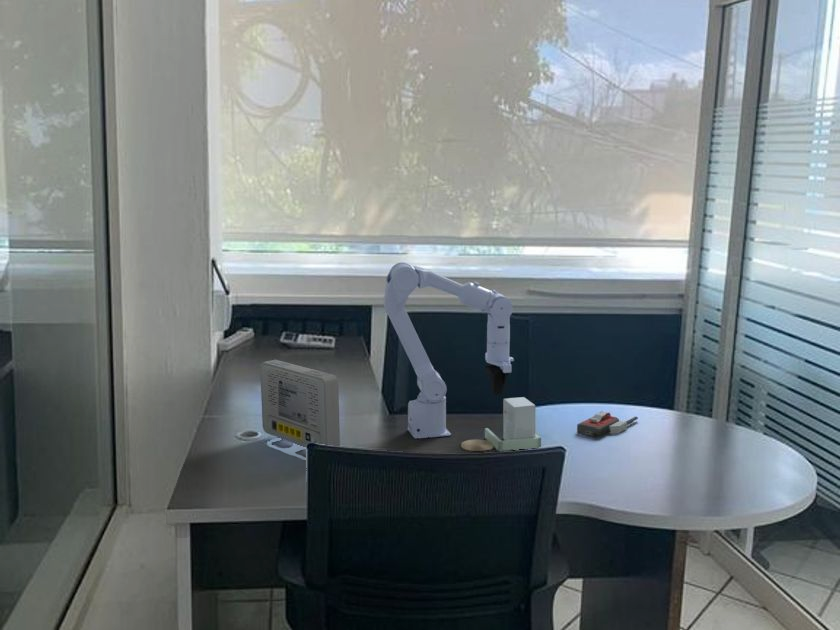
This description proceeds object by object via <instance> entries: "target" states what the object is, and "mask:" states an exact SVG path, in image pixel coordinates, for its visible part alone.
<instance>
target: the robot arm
mask: <svg viewBox="0 0 840 630" xmlns="http://www.w3.org/2000/svg"><path fill="white" fill-rule="evenodd" d="M385 281H386V282H385V289H384V296H383V308H384V310H385V312H386V313H387V316H388V318H389V320H390V322H391V324H392V326H393V328H394V330H395V332H396V335H397V337H398V340H399V341H400V343H401V345H402V347H403V350H404V351H405V353H406V355H407V358H408V359H409V361H410V363H411V366H412V368H413V371H414V372H415V374H416V377H417V378H416V385H417V387H418V388H419V390H420V391H419V394H418V395H417V398H416V399H414V400H409V402H408V404H407V431H408V432H409V433H410V435H411V436H412V437H413V438H414V439H417V438H418V439H427V438H428V437H429V438H438V437H450V436H452V433H451V432H450V431H449V430H448V429H447V404H446V403H447V396H446V394H447V391H448V389H447V388H448V387H447V384H446V382H445V381H444V380H443V379H442V377H441V374H440V372H438V371H437V370H435V369H434V366H433V364H432V363H431V360H430V358H429V356H428V354H427V352H426V350H425V348H424V346H423V344H422V341H421V340H420V338H419V335H418V333H417V332H416V329H415V327H414V324H413V323H412V320H411V318H410V316H409V313H408V312H407V310H406V308H405V305H406V303H407V300H408V298H409V296H410V295H411V294H412V293H413V292H414V291H415V290H416V288H417V287H418V289H424V288H427V287H431V288H434V289H436V290H439V291H442V292H445V293H447V294H449V295H450V294H451V295H453V296H455V297H458V300H459V303H460V304H462V305H464V306H467V307H469V308H472V309H474V310H477V311H480V312H482V313H487V323H486V328H487V329H486V352H485V353H484V354H485V355H484V359H485V362H486V363H488V364H490V365H486V366H485V367H484V368H485V370H486V372H487V375H488V376H489V382H490V385H491V386H490V387H491V391H492V394H493V395H496V396H497V395H502V394H503V392H504V388H505V385H506V382H507V379H508V376H509V375H510V374H511V373H512V369H513V368H512V366H513V365H512V364H511V362H514V361H515V359H514V357H512V356H510V347H511V346H510V344H511V343H510V341H511V324H510V323H511V322H510V317H511V315H512V314H513V312H514V307H513V304H512V301H511V300H510V299H509V298H508V297H506V296H504V295H503V294H501V293H500V292H498V291H496V290H495V289H492V290H490V289H487V288H485V287H484V286H483V287H482V286H481V285H480V283H479V282H477V281H473V282H471V281H468V282H466V283H464V284H463V283H460V282H457V281H455V280H452V279H450V278H447V277H445V276H443V275H441V274H439V273H437V272H434V271H433V270H430V269H427V268H424V267H421V266H417V265H412V266H411V264H409V263H406V262H403V261H402V262H397V263H396V264H394V265H393V266H391V268H390V270H389V272H388V274H387V276H386V280H385Z"/></svg>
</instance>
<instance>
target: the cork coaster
mask: <svg viewBox="0 0 840 630" xmlns="http://www.w3.org/2000/svg"><path fill="white" fill-rule="evenodd" d="M460 447H461V448H462V449H463V450H464V449H465V451H467V450H468V452H473V451H482V450H489V451H491V450H493V449H495V447H494V445H493V444H492V443H491V442H490V441H487V440H486V439H468V440H465V441H462V442H461V445H460Z"/></svg>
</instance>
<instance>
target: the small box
mask: <svg viewBox="0 0 840 630" xmlns="http://www.w3.org/2000/svg"><path fill="white" fill-rule="evenodd" d="M502 402H503V404H502V405H503V407H502V408H503V409H502V410H503V411H502V412H503V413H502V414H503V418H502V419H503V420H502V421H503V422H502V423H503V424H502V425H503V428H502V429H503V431H502V433H503V435H502V436H503V440H513V439H524V438H535V434H536V405H535V404H534V403H533V402H531V401H530V400H529V399H527V398H526V397H525V396H522V397H508V398H503V401H502Z"/></svg>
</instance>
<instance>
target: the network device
mask: <svg viewBox="0 0 840 630" xmlns="http://www.w3.org/2000/svg"><path fill="white" fill-rule="evenodd" d="M259 370H260V373H259V374H260V377H259V378H260V394H261V395H260V397H261V419H262V422H261V423H262V429H263V431H264V433H266V434H268V435H271V436H274V437H275V438H281V439H284V440H283V441H287V442H290V443H292V444H293V443H295V444H297V445H300V446H303V447H306V445H307V444H308V443H319V444H325V445H333V446H340V447H341V437H340V436H341V434H340V433H341V431H340V429H341V428H340V401H339V399H340V394H339V393H340V392H339V380H338V377H337V376H336V374H332V373H331V374H330V373H327V372H324V371H320V370H316V369H312V368H309V367H304V366H301V365H297V364H294V363H290V362H286V361H283V360H278V359H273V360H267V361H262V362H261V363H260V365H259Z"/></svg>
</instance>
